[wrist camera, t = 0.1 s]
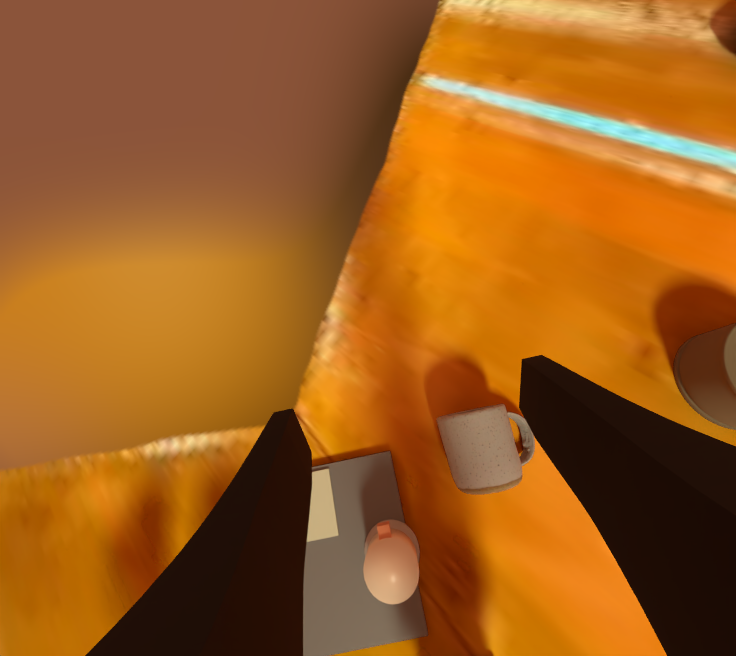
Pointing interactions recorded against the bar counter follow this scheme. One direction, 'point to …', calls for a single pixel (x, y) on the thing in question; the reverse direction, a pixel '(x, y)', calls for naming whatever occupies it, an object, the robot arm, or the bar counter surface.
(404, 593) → the domed cylinder with nub
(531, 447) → the ceramic mug
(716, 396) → the can
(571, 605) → the bar counter surface
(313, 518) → the board
